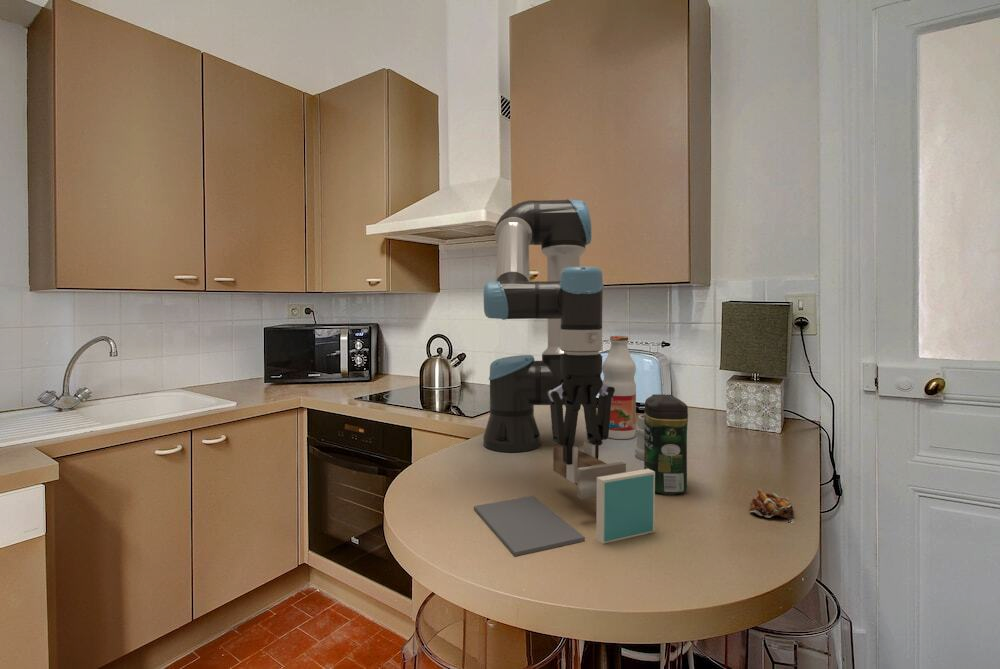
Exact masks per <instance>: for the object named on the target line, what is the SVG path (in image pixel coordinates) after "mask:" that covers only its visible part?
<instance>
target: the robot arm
mask: <svg viewBox="0 0 1000 669" xmlns="http://www.w3.org/2000/svg"><path fill="white" fill-rule="evenodd" d="M494 239H495V242H496V245H497V253H496V254H497V256H496V265H495V267H496V268H495V279H494V281H488V282H485V284H484V286H483V312H484V315H485V317H486V318H488V319H494V320H495V319H496V320H499V319H500V320H505V321H506V320H522V319H523V320H525V319H526V320H527V319H530V320H531V319H536V320H539V319H541V320H543V319H544V320H545V319H547V348H546V349H545V350H544V351H543V352H542V353H541V360H535V357H534V355H532V354H523V355H522V354H521V355H512V356H506V357H501V358H497V359H495V360H493V361H492V362H491V363H490V365H489V366H490V367H489V377H488V380H489V417H488V420H487V424H486V426H485V430H484V433H483V446H484V447H485V448H487V449H489V450H493V451H496V452H502V453H504V452H505V453H521V452H528V451H532V450H535V449H537V448H539V447H541V434H540V430H539V427H538V424H537V421H536V418H535V406H549V408H550V421H551V430H552V432H551V433H552V441H553V442H555V443H556V444H557V445H562V446H563V462H564V463H565V464H567V473H566V478H565V479H566V480H568V481H570V482H571V483H573V484H575V483H577V468H578V450H579V447H577V446H575V441H576V440H575V439H576V432H577V425H578V417H579V411H580V410H581V406H582V408H583V415H584V422H585V430H586V436H587V441H584V442H583V452H584V453H586V454H588V455H590V456H592V457H594V458H596V459H599V451H600V450H599V447H600V446H601V445H603V441H606V440H608V439H609V438H608V435H609V423H610V410H611V399H612V397H613V394H614V392H615V388H614V387H611V386H607V385H605V384H603V379H602V377H601V376H602V373H603V370H602V366H603V355H602V354H601V353H600V352H601V351H602V350H603V297H604V296H603V294H604V293H603V292H604V291H603V290H604V288H605V287H604V283H603V282H604V281H603V271H602V269H600V267H596V266H581V262H580V261H581V260H580V259H581V256H582V255H583V254H584V253H586V246H588V245H589V244H591V243H592V220H591V214H590V210H589V207H588V205H587V203H586V202H585V201H583V200H582V199H581V200H579V199H569V198H567V199H555V200H554V199H552V200H551V199H548V200H547V199H542V200H541V199H539V200H534V199H533V200H524V201H522V202H519V203H516V204H514V205H512V206H511V207H510V208H509V209H507V210H506V211H505V212H503V213H502V215H501V216H500V217H499V219H498V220H497V222H496V224H495V230H494ZM531 245H533V246H541V249H540V250H541V254H543V255H544V257H546V261H547V262H546V263H547V264H546V266H547V267H546V270H547V271H546V272H547V274H546V276H547V280H546V281H538V280H537V281H531V276H530V275H531V272H530V248H529V247H530V246H531ZM597 396H598V399H597ZM563 407H565V412H564V408H563ZM575 485H576V484H575Z"/></svg>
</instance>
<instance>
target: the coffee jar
mask: <svg viewBox="0 0 1000 669" xmlns="http://www.w3.org/2000/svg"><path fill="white" fill-rule="evenodd" d="M688 408H689V407H688V405H687V404H686V403H685V402H684V401H682V400H681V399H679V398H677V397H675V396H674V395H673V394H661V393H660V394H659V393H658V394H657V393H656V394H652V395H651V396H649V397H647V398H646V399H645V401H644V414H645V422H644V460H643V461H644V462H643V463H644V465H643V466H644V467H643V470H644V469H650V470H652V471H654V472H655V493H659V494H663V495H670V496H674V495H679V494H684V493H685V492H687V490H688V422H689V414H688V413H689V412H688V411H689V410H688Z"/></svg>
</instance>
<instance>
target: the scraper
mask: <svg viewBox="0 0 1000 669" xmlns="http://www.w3.org/2000/svg"><path fill="white" fill-rule="evenodd" d="M552 451H553V453H552V454H553V457H552V458H553V463H552V464H553V466H552V467H553V472H555V473H556V474H558V475H560V476H561V477H563V478H564V479H566V473H567V464H565V463H564V462H563V446H562V445H560V444H557V445H553V450H552ZM625 472H627V463H626V462H623V461H615V462H609V463H607V462H605V461H604V460H603V461H602V460H600V459H599V458H598V459H596V458H594V457H592V456H590V455H588V454H586V453H584V451H581V450H580V449H578V468H577V483H575V485H576V486H577V491H576V492H577V495H576V496H577V498H578V499H579V500H581V501H583V500H587V499H593V498H597V477H601V476H607V475H613V474H619V473H625Z"/></svg>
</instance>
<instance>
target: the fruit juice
mask: <svg viewBox="0 0 1000 669" xmlns="http://www.w3.org/2000/svg"><path fill="white" fill-rule="evenodd" d="M609 340H610V348H609V351H608V353H607V356H606V358H605V359H604V361H603V362H602V373H603V379H602V381H603V384H605V385H607V386H611V387H614V388H615V392H614V394H613V397H612V399H611V410H610V423H609V435H608V439H614V440H630V439H633V438H635V436H636V433H637V431H636V429H637V427H636V424H637V419H636V418H637V385H636V382H635V374H636V372H637V368H636V363H635V361H634V360H633V357H631V353H630V351H629V348H628V343H629V336H628V335H611V336H610V339H609Z"/></svg>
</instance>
